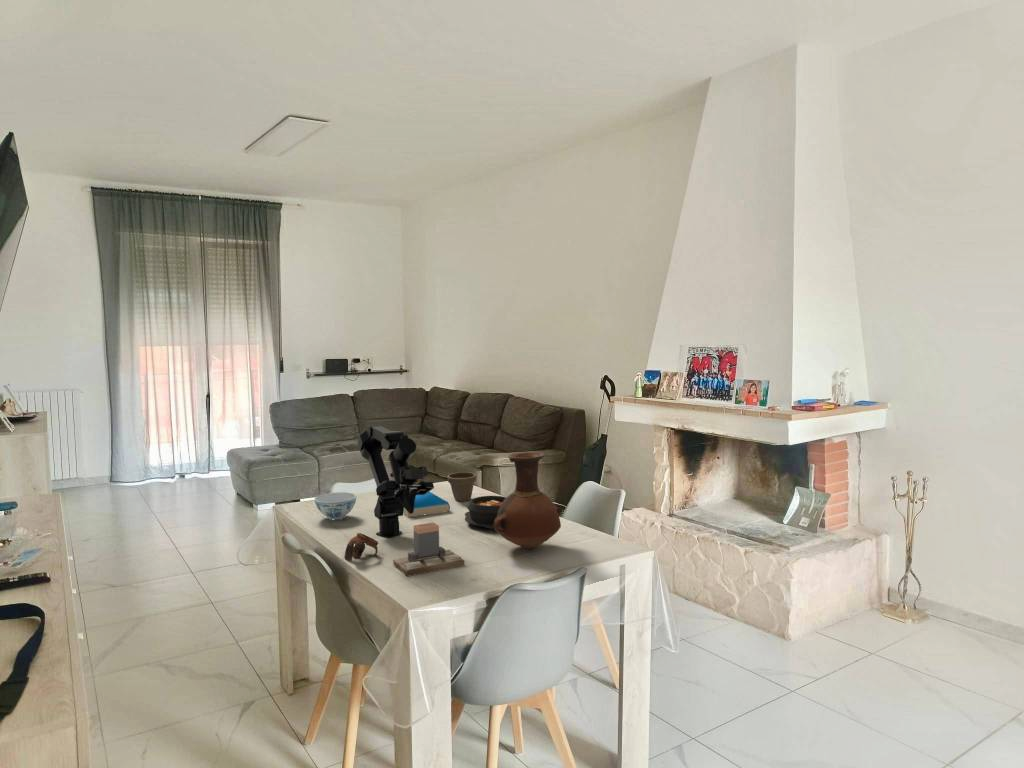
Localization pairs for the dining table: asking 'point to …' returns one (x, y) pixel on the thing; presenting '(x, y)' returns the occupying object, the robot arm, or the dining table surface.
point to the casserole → (483, 510)
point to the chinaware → (335, 504)
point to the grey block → (426, 540)
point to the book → (428, 505)
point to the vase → (527, 506)
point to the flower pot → (462, 485)
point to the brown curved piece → (359, 546)
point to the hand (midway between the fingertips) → (411, 513)
